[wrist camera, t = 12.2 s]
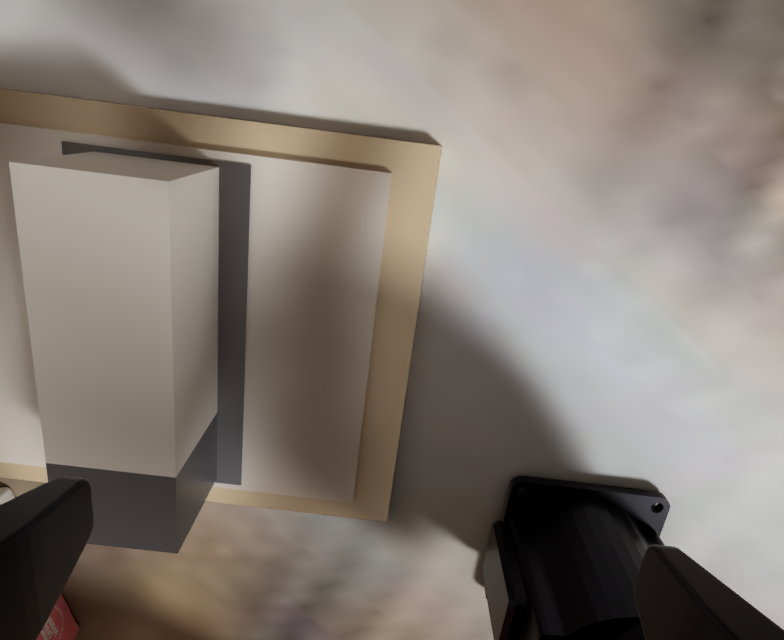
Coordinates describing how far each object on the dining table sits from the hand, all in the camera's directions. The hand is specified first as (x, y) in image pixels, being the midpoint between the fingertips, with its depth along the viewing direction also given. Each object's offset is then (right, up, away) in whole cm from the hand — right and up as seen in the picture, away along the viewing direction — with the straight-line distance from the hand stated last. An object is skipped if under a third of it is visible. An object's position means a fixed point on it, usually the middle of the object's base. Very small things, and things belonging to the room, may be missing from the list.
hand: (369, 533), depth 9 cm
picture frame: (-9, +3, +12) cm, 15 cm away
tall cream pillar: (-8, +3, +11) cm, 14 cm away
